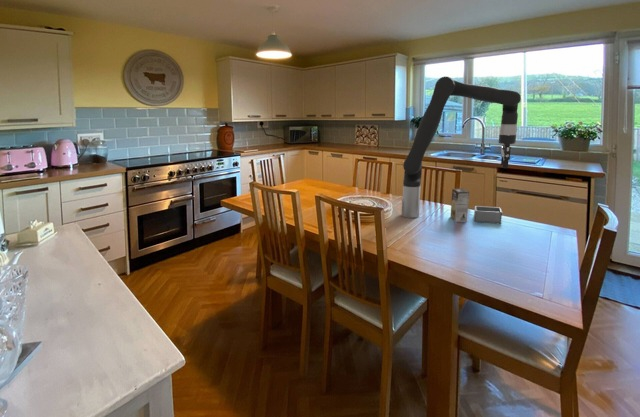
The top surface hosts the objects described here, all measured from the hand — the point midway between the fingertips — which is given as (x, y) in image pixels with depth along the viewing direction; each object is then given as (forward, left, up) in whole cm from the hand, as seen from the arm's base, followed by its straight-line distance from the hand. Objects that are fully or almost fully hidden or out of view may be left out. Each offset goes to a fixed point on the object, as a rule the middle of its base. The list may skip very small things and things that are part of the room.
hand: (504, 166), depth 191 cm
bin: (-5, +2, -29) cm, 30 cm away
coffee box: (-19, 0, -29) cm, 35 cm away
